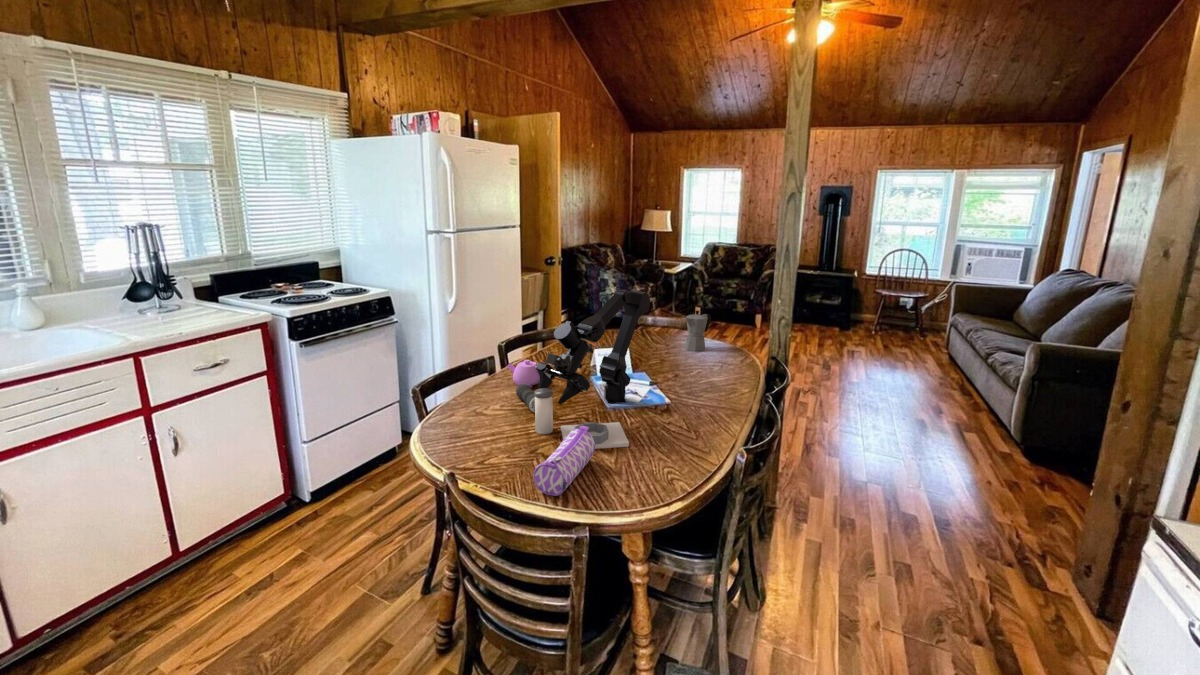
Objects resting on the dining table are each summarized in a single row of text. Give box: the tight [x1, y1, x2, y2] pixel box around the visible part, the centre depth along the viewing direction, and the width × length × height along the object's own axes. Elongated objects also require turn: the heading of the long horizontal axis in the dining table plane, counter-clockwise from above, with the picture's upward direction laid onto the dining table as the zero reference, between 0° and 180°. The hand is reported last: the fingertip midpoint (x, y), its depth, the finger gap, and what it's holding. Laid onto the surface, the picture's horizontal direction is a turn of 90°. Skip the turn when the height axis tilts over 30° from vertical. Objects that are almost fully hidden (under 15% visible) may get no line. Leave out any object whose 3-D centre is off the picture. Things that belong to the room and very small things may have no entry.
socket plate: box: [560, 421, 630, 450], centre depth 160 cm, size 18×14×4 cm
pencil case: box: [532, 426, 596, 497], centre depth 138 cm, size 22×9×10 cm, turn 161°
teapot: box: [507, 359, 540, 389], centre depth 202 cm, size 10×15×9 cm
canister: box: [533, 387, 554, 435], centre depth 163 cm, size 5×5×12 cm
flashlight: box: [515, 384, 535, 413], centre depth 184 cm, size 15×5×5 cm, turn 27°
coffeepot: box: [684, 310, 712, 353], centre depth 248 cm, size 15×9×18 cm, turn 125°
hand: (548, 400), depth 163 cm, fingers open, 9 cm apart
